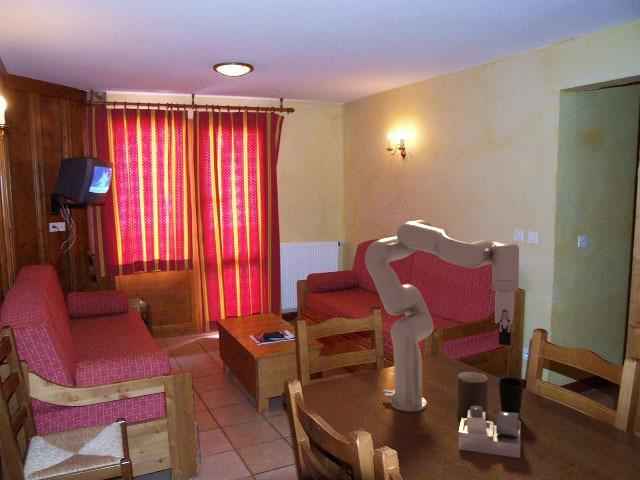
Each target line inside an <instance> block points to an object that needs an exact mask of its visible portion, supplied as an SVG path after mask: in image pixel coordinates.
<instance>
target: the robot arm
mask: <svg viewBox="0 0 640 480" xmlns="http://www.w3.org/2000/svg"><path fill="white" fill-rule="evenodd" d="M416 251H421V252H422V251H423V252H425V253H429V254H433V255H436V256H437V257H438V258H439V259H441V260H443V261H444V262H447V263H448V264H452V265H456V266H459V267H463V268H466V269H478V268H480V267H483V266H487V265H491V266H492V267H491V269H492V270H491V272H492V273H491V275H492V277H491V288H492V290H493V291H495V294H494V295H495V296H494V323H495V324H498V323H499V331H498V344H499V345H501V346H510V345H511V340H512V339H511V336H512V335H511V333H512V332H511V324H513V319H514V310H515V292H517V291H519V290H520V288H519V285H520V284H519V283H520V281H519V280H520V279H519V278H520V247H519V245H518V244H516V243H514V242H497V241H492V240H487V239H485V240H483V239H482V240H479V241H473V242H471V243H470V242H464V241H460V240H456V239H454V238H450V237H449V235H448V232H447V231H446V230H445V229H443V228H438V227H435V226H433V225H432V224H431V223H429V222H428V221H427V220H424V219H423V220H422V219H418V220H411V221H407V222H403V223H402V224H400V225H399V226H398V228H397V231H396V235H395V236H391V237H384V238H381V239H378V240H375V241H373V242H372V243H371V244H370V245H369V246H368V247H367V249H366V251H365V254H364V262H365V266H366V270H367V271H368V273H369V275H370V277H371V278H372V279H371V280H373V282H374V286H375V288H376V291H377V292H378V296H379V298H380V300H381V302H382V305H383V307H384V309H385V311H386V313H388V315H391V316H398V315H399V316H400V315H402V314H404V316H403V317H401V318H399V319H397V320H396V321H395V322H393V324H392V325H391V329H390V337H391V341H392V348H393V363H394V365H393V366H394V369H393V370H394V371H393V372H394V374H393V375H394V389H392V390H389V389H383V391H382V395H383V396H384V398H387V399H390V406H391V407H392V408H394V409H395V410H397V411H400V412H407V413H408V412H409V413H414V412H419V411H422V410H424V409H425V408H427V406H428V405H427V400H426V399H425V398H424V397H423V376H422V375H423V373H422V372H423V367H422V366H423V363H422V362H423V360H422V357H423V356H422V352H421V349H420V346H419V342H420V341H422V340H424V339H426V338H428V337H429V336H431V334H432V332H433V331H434V322H433V319H432V316H431V313H430V310H429V308H428V306H427V304H426V302H425V299H424V297H423V295H422V293H421V291H420V290H419V289H418V288H417V287H416V286H414V285H412V284H408V283H405V284H402V283H401V281H400V279H399V277H398V275H397V272H395V270H394V269H393V267H392V266H390V265H389V263H390V262H396V261H398V260H403V259H405V258H407V257H408V256H410V255H412V254H413V253H415V252H416Z"/></svg>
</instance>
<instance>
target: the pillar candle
mask: <svg viewBox="0 0 640 480" xmlns="http://www.w3.org/2000/svg"><path fill="white" fill-rule="evenodd" d="M488 381H489V379H488V376H487V375H485V374H483V373H480V372H475V371H462V372H461V373H459V374H458V375H457V399H456V400H457V401H456V402H457V403H456V405H457V406H456V407H457V408H456V414H457V417H458V418H459V419H460V420H461V418H467V415H468V410H470V407H471V406H480V407H482V408H483V412H485V421H487V420H488V391H489V390H488V389H489V383H488Z"/></svg>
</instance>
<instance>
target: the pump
mask: <svg viewBox="0 0 640 480" xmlns="http://www.w3.org/2000/svg"><path fill="white" fill-rule="evenodd" d="M485 421H486V420H485V412H483V408H482V407H480V406H471V407H470V410H468V415H467V432H474V433H481V434H485Z"/></svg>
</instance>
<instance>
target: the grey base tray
mask: <svg viewBox="0 0 640 480" xmlns="http://www.w3.org/2000/svg"><path fill="white" fill-rule="evenodd" d="M459 423H460V424H459V429H458V450H461V451H467V452H476V453H482V454H489V455H497V456H505V457H510V458H518V459H521V430H522V429H521V428H522V427H521V424H522V421H520V418H519V414H518V413H510V412H501V410H500V411H498V410H496V425H495V424H494V421H490V420H485V434H481V433H474V432H467V418H461V419H460V422H459Z"/></svg>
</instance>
